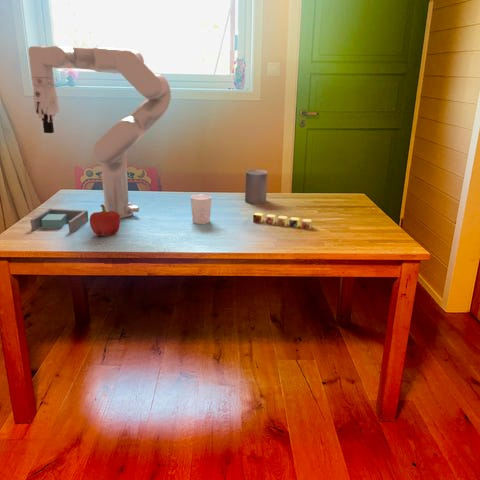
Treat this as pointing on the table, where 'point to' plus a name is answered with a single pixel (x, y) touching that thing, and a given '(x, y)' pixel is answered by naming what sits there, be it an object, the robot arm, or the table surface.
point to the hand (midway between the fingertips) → (49, 132)
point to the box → (74, 216)
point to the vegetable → (105, 222)
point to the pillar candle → (256, 186)
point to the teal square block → (54, 221)
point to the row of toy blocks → (282, 220)
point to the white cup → (201, 208)
